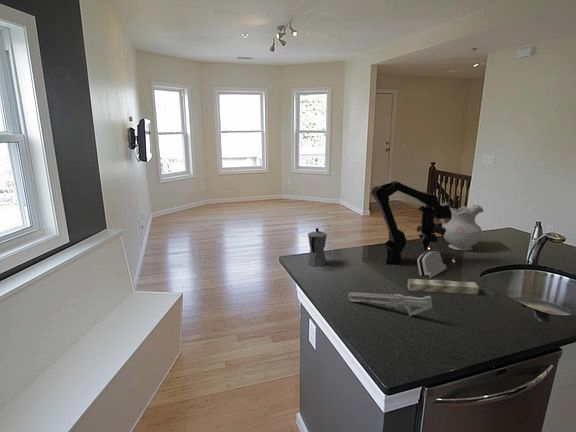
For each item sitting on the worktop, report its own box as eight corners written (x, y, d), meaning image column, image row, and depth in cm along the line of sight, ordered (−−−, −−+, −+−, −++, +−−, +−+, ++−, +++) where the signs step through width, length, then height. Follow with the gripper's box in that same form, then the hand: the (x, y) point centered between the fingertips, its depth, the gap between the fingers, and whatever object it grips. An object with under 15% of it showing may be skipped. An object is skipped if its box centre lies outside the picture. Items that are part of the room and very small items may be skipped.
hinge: (430, 278, 154) (424, 256, 154) (420, 278, 158) (414, 257, 158) (447, 268, 165) (441, 247, 165) (437, 268, 169) (432, 248, 169)
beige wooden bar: (409, 290, 143) (410, 283, 142) (407, 285, 148) (408, 278, 147) (478, 294, 139) (479, 286, 138) (474, 289, 143) (474, 281, 143)
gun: (432, 318, 119) (430, 297, 118) (349, 311, 135) (346, 292, 134) (433, 316, 121) (431, 295, 120) (351, 309, 137) (348, 290, 136)
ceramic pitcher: (439, 253, 188) (444, 208, 180) (433, 239, 206) (437, 198, 199) (483, 255, 184) (491, 210, 176) (473, 241, 202) (479, 199, 194)
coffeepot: (311, 257, 181) (311, 224, 177) (329, 259, 178) (329, 225, 174) (302, 268, 167) (302, 232, 163) (321, 271, 164) (322, 234, 160)
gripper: (451, 225, 160) (447, 257, 164) (440, 215, 178) (437, 244, 182) (425, 224, 162) (422, 256, 166) (417, 214, 180) (415, 244, 183)
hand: (425, 250), depth 174 cm, fingers closed
